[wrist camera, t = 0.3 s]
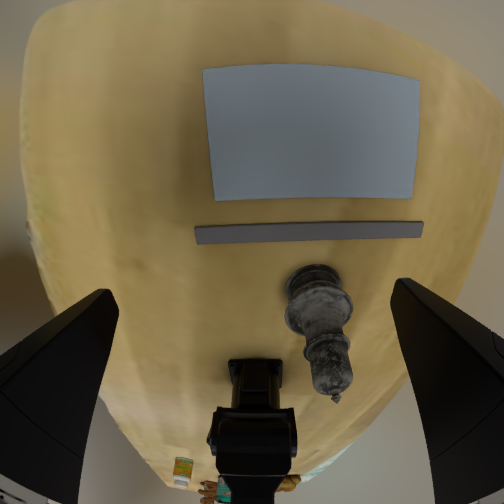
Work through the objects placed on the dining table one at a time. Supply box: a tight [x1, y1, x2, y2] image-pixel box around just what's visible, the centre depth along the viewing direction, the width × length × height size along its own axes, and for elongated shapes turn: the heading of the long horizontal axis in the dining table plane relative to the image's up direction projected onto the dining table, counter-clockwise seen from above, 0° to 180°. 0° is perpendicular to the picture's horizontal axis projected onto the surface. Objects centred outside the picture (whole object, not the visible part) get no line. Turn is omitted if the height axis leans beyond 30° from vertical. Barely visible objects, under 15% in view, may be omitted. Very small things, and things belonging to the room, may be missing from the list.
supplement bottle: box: [173, 457, 193, 488], centre depth 58 cm, size 5×5×10 cm
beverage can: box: [216, 475, 231, 504], centre depth 69 cm, size 7×7×12 cm
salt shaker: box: [285, 264, 353, 403], centre depth 20 cm, size 6×6×12 cm
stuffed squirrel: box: [198, 481, 218, 504], centre depth 81 cm, size 10×14×13 cm
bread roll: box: [275, 475, 301, 492], centre depth 69 cm, size 13×10×8 cm
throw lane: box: [194, 64, 424, 244], centre depth 19 cm, size 14×20×1 cm
